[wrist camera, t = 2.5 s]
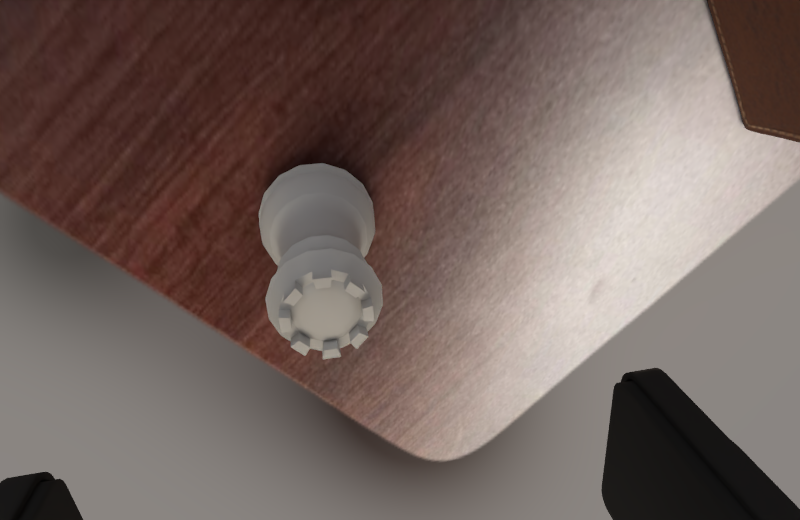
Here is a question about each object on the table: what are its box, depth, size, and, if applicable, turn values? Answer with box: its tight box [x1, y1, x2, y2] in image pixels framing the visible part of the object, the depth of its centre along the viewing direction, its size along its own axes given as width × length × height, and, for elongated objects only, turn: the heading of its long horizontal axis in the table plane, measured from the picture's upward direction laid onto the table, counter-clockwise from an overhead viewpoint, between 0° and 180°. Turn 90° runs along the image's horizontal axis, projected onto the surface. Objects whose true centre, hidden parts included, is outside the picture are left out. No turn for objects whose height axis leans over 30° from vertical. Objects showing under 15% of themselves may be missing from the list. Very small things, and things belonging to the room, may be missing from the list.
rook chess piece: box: [258, 163, 383, 359], centre depth 18 cm, size 4×4×8 cm
